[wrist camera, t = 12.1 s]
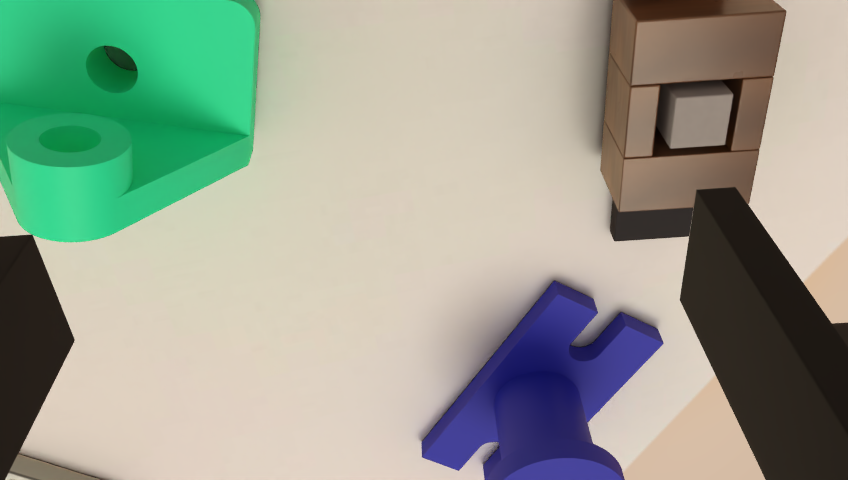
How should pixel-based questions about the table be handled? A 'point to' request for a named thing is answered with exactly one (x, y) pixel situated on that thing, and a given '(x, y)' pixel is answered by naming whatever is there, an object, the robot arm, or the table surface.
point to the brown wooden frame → (676, 63)
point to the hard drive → (41, 471)
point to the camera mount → (121, 108)
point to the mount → (544, 394)
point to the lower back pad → (650, 224)
